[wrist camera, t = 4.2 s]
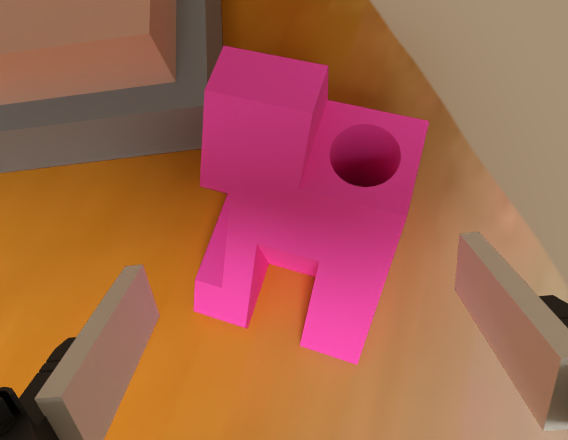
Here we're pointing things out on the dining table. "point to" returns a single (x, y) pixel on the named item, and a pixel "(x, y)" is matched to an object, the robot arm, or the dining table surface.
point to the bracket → (302, 194)
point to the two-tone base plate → (103, 78)
